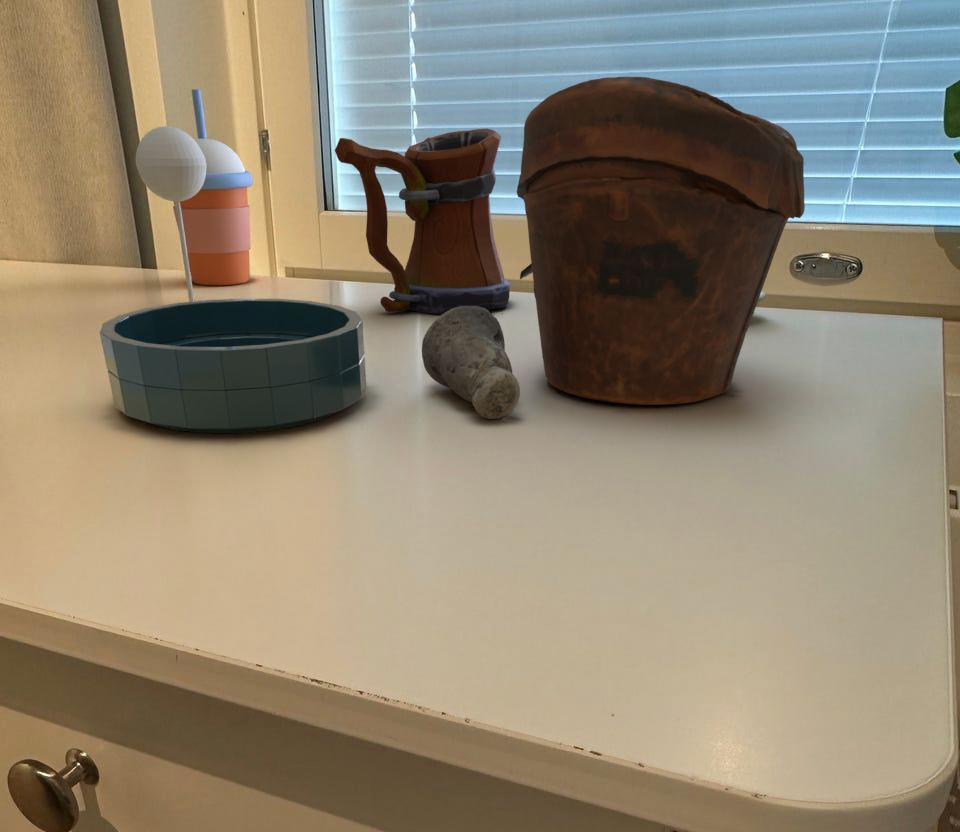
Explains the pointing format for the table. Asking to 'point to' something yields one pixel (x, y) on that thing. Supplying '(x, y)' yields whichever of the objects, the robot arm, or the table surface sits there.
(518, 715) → the table surface
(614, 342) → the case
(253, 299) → the bowl
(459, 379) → the stone
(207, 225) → the cup with straw
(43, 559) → the table surface
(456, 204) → the mug
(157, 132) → the lollipop
